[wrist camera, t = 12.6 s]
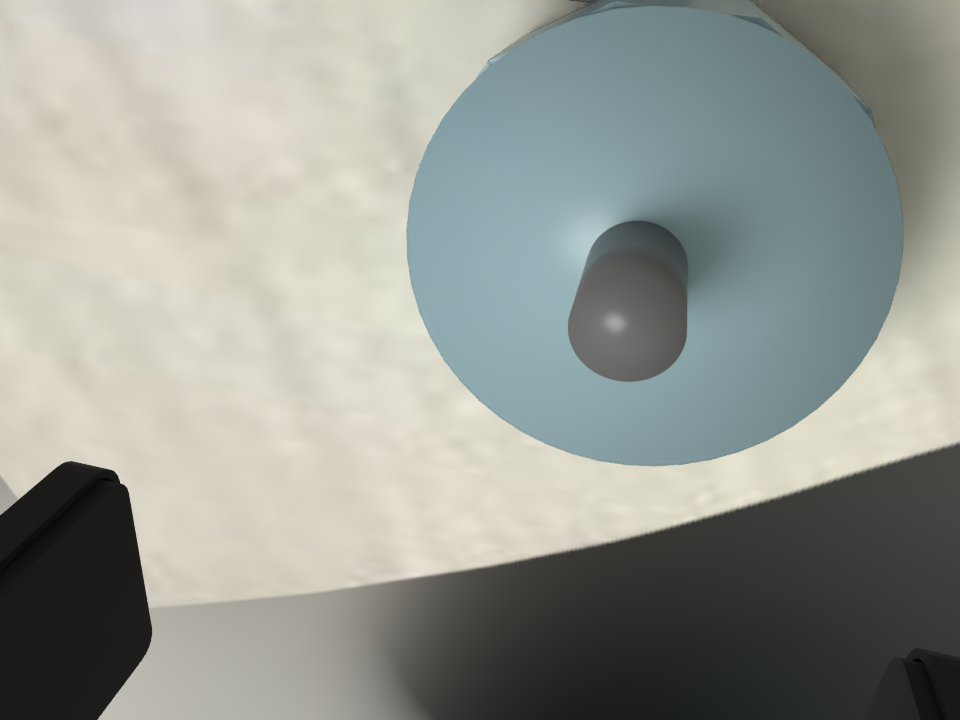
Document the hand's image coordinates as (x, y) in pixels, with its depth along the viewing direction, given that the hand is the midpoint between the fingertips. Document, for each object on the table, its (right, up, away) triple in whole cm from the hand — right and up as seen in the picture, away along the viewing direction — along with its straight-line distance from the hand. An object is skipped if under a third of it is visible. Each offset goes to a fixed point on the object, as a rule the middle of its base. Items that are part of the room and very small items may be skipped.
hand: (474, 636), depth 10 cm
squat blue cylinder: (+7, +10, +21) cm, 24 cm away
